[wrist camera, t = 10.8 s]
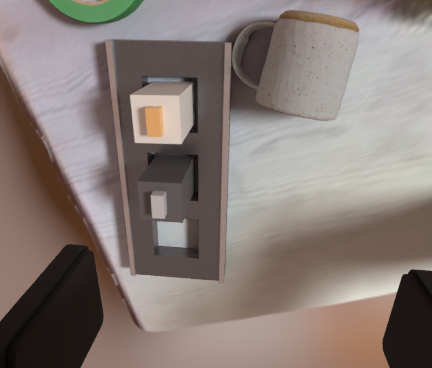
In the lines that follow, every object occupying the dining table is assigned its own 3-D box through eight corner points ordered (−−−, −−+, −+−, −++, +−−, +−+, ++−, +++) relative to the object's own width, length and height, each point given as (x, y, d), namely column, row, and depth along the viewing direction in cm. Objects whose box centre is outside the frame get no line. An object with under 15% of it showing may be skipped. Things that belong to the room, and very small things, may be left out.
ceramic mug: (353, 23, 32) (378, 22, 25) (327, 109, 36) (343, 129, 29) (241, 4, 33) (235, -2, 26) (226, 91, 36) (218, 106, 29)
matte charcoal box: (194, 154, 39) (179, 188, 31) (195, 187, 41) (180, 228, 33) (158, 152, 40) (133, 185, 31) (160, 185, 41) (137, 225, 33)
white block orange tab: (194, 81, 36) (176, 97, 28) (195, 121, 38) (179, 147, 29) (154, 81, 36) (125, 97, 28) (157, 120, 38) (131, 146, 30)
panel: (232, 41, 34) (231, 42, 32) (225, 270, 46) (223, 282, 43) (113, 39, 35) (105, 40, 33) (136, 264, 47) (130, 275, 44)
